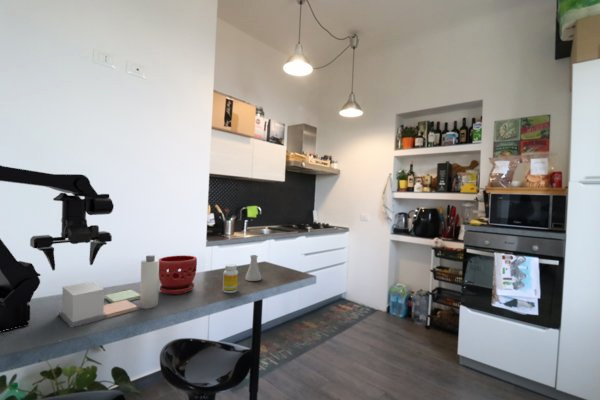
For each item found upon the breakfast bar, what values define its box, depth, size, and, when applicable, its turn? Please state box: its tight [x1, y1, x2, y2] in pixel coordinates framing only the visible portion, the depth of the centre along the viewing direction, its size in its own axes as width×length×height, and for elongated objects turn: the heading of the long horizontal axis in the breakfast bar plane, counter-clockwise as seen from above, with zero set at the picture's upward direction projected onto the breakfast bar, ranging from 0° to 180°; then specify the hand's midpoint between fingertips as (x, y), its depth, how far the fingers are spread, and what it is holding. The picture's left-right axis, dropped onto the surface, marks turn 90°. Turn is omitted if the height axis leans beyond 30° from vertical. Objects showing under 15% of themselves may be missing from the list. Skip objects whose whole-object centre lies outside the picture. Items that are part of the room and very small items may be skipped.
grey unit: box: [58, 281, 108, 328], centre depth 82 cm, size 8×12×8 cm, turn 52°
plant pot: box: [158, 255, 198, 295], centre depth 106 cm, size 13×13×12 cm
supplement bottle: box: [222, 263, 239, 294], centre depth 107 cm, size 5×5×10 cm
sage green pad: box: [104, 289, 140, 304], centre depth 96 cm, size 8×8×1 cm
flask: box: [244, 254, 262, 282], centre depth 123 cm, size 7×7×10 cm
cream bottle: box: [139, 254, 160, 309], centre depth 91 cm, size 5×5×16 cm
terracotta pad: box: [104, 300, 138, 319], centre depth 87 cm, size 8×8×1 cm
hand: (73, 267), depth 88 cm, fingers open, 9 cm apart
